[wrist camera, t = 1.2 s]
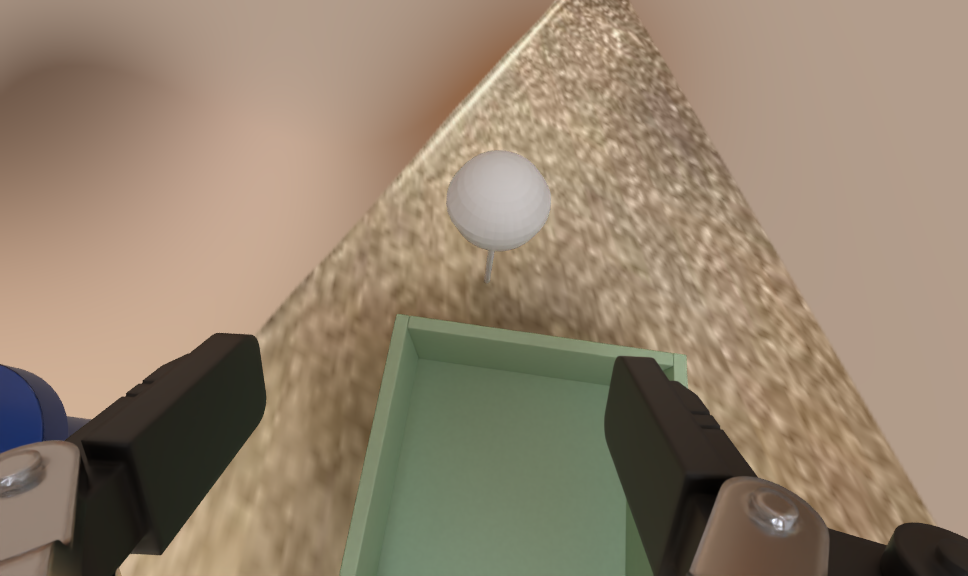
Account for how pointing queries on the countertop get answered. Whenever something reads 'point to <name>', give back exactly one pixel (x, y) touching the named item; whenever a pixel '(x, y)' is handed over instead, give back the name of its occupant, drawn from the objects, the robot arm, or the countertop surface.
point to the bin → (494, 458)
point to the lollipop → (498, 202)
